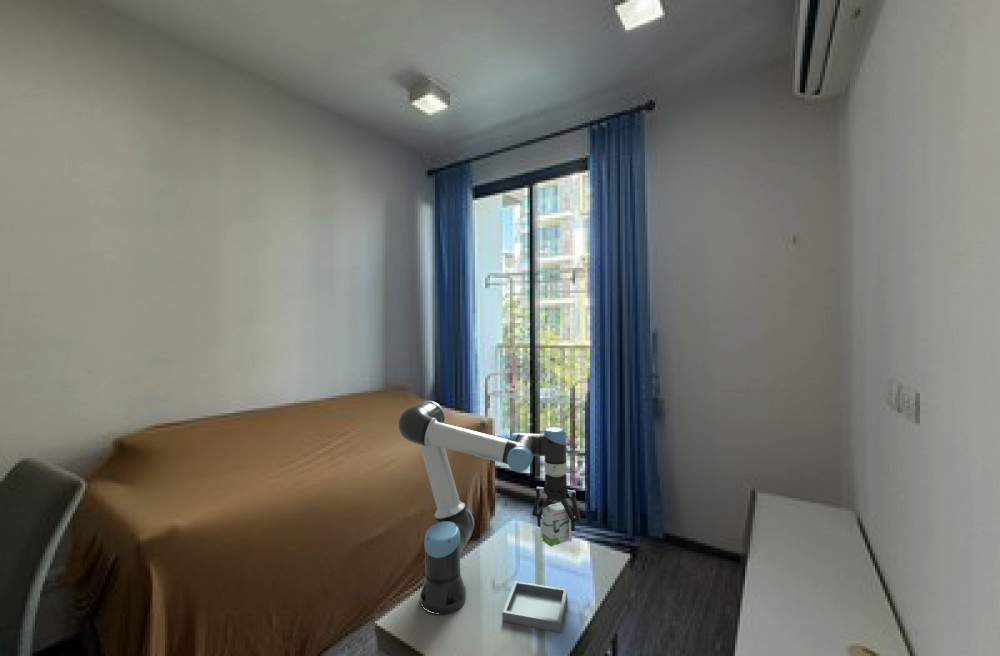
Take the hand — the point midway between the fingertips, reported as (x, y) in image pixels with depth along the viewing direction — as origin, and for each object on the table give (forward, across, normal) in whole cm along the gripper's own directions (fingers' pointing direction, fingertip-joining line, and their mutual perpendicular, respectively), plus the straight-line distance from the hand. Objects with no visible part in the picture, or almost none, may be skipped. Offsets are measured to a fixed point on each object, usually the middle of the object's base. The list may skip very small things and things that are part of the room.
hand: (556, 537), depth 142 cm
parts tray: (+17, -5, -13) cm, 22 cm away
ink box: (+1, 0, 0) cm, 1 cm away
